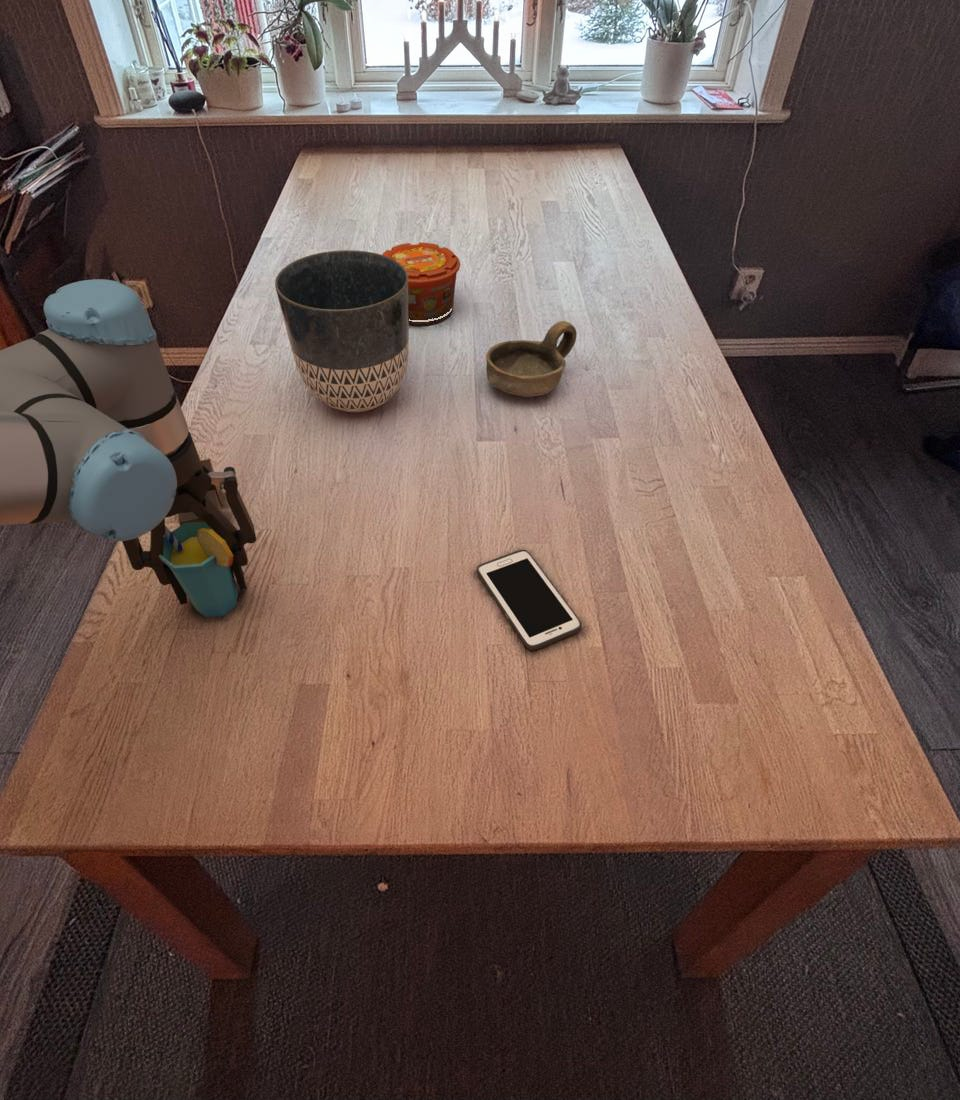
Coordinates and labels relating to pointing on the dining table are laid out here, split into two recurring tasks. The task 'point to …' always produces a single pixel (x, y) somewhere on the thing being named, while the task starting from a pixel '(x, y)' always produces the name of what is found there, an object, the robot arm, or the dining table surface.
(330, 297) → the planter
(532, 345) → the bowl
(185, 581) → the cup
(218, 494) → the walnut block far
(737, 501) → the dining table surface
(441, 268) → the food container
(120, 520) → the robot arm
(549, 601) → the cell phone
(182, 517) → the walnut block near
